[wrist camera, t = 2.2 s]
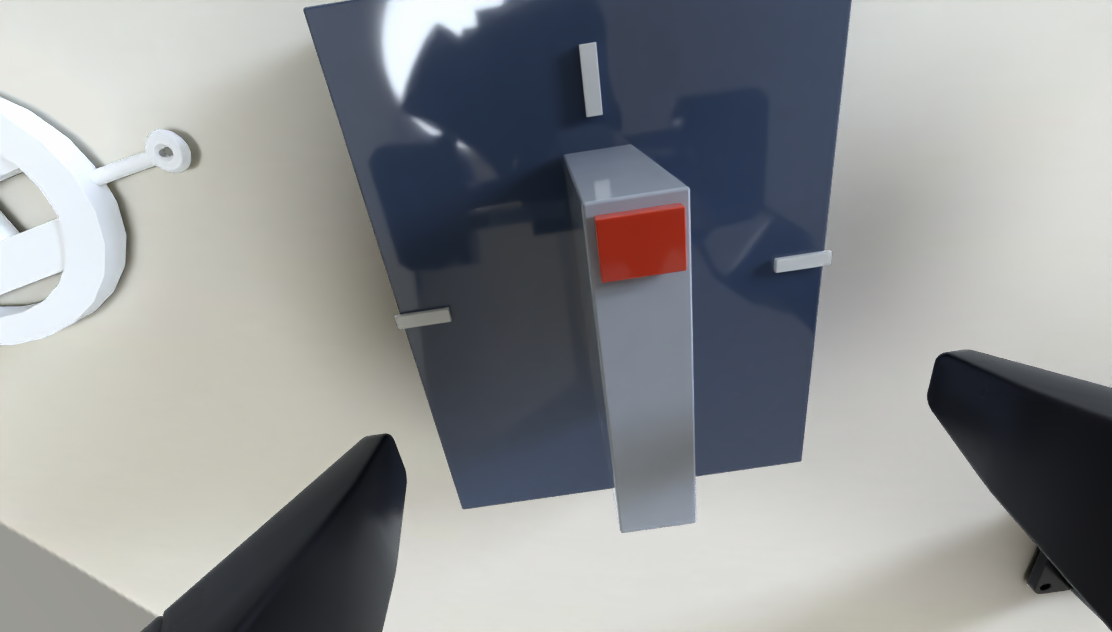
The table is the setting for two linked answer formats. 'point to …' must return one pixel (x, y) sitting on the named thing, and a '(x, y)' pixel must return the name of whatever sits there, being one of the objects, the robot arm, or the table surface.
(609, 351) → the gray bar
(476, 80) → the tap base
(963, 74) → the table surface
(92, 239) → the pendant
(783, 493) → the table surface
